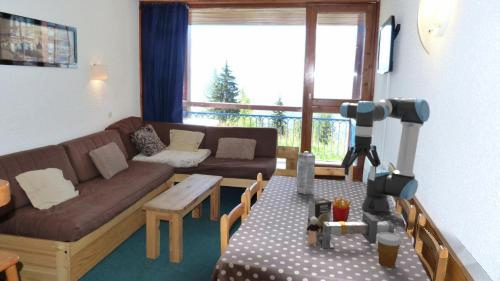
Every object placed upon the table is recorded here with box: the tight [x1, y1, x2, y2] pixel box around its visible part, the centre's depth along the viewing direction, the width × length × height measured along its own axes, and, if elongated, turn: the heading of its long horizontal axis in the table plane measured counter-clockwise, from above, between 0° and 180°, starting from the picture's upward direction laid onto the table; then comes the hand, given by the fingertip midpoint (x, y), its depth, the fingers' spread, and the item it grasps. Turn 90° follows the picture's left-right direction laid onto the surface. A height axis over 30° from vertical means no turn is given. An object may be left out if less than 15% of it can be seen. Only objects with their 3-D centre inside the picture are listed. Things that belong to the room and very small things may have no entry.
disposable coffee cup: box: [376, 232, 402, 269], centre depth 160 cm, size 10×10×12 cm
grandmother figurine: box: [304, 217, 321, 246], centre depth 177 cm, size 8×4×13 cm, turn 119°
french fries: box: [330, 196, 352, 222], centre depth 200 cm, size 9×8×15 cm
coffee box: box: [306, 198, 332, 237], centre depth 190 cm, size 9×6×16 cm
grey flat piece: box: [360, 211, 379, 245], centre depth 178 cm, size 2×10×10 cm, turn 7°
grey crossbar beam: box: [317, 220, 395, 250], centre depth 178 cm, size 34×8×10 cm, turn 97°
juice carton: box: [296, 150, 316, 195], centre depth 255 cm, size 9×10×27 cm
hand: (359, 180), depth 184 cm, fingers open, 13 cm apart
